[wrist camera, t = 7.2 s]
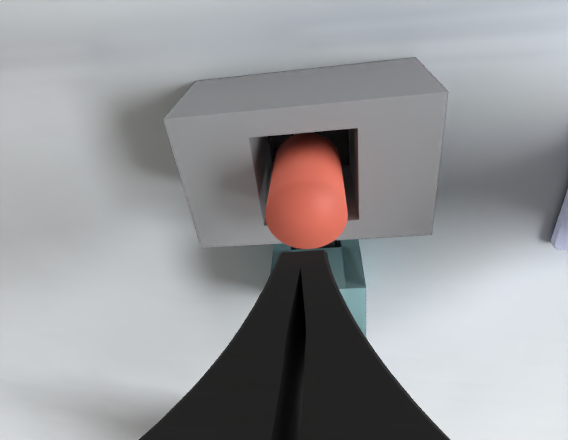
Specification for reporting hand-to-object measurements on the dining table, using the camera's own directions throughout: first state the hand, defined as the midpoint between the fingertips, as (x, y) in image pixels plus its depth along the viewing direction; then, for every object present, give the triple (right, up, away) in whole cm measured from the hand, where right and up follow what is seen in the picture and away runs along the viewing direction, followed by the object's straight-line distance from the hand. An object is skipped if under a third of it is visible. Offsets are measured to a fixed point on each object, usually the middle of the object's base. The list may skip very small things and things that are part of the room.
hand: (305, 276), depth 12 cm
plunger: (0, +4, +5) cm, 6 cm away
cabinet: (+1, +6, +8) cm, 10 cm away
